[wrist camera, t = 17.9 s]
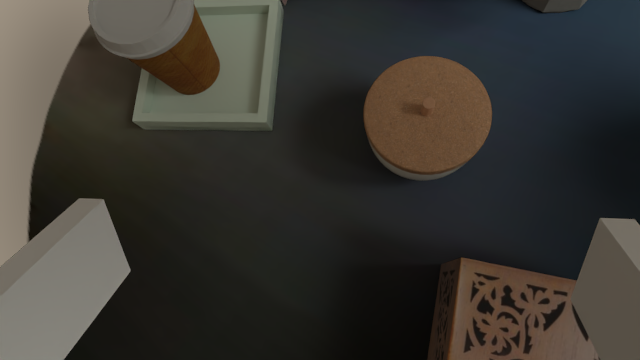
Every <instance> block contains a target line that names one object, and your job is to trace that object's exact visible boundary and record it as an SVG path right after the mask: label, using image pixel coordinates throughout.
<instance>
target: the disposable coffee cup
mask: <svg viewBox="0 0 640 360" xmlns="http://www.w3.org/2000/svg"><path fill="white" fill-rule="evenodd" d="M88 13H89V20H90V23H91V25H92V27H93V30H94V33H95V36H96V38H97V39H98V41H99V42H100V44H101V45H102V46H103V47H104V48H105V49H107V50H108V51H110V52H111V53H113V54H115V55H118V56H121V57H125V58H127V59H129V60H131V61H132V62H133V63H135V64H136V65H138V66H140V67H141V68H143V69H144V70H145V71H147V72H149V73H150V74H151V75H153V76H155V77H156V78H158V79H159V80H161V81H162V82H164V83H165V84H167V85H168V86H170V87H171V88H173V89H174V90H175V91H177V92H179V93H181V94H185V95H194V94H199V93H201V92H203V91H205V90H207V89H208V88H209V87H210V86H211V85H213V83H214V82H215V81H216V79H217V77H218V75H219V71H220V61H219V58H218V56H217V54H216V52H215V49H214V47H213V45H212V43H211V41H210V38H209V36H208V34H207V32H206V29H205V27H204V25H203V23H202V21H201V18H200V16H199V14H198V12H197V9H196V7H195V5H194V0H90V1H89V6H88Z"/></svg>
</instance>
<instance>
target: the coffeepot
mask: <svg viewBox="0 0 640 360" xmlns="http://www.w3.org/2000/svg"><path fill="white" fill-rule="evenodd" d="M522 1H523V2H524V3H526V4H527V5H528V6H530V7H532V8H534V9H537V10H540V11H541V12H546V13H560V12H566V11H570V10H577V9H579V8H580V7H581V6H582V5H583V4H584V3H585V2H586V1H587V0H522Z"/></svg>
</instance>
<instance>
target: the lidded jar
mask: <svg viewBox="0 0 640 360" xmlns="http://www.w3.org/2000/svg"><path fill="white" fill-rule="evenodd" d="M363 119H364V126H365V131H366V134H367V138H368V141H369V144H370V146H371V148H372V150H373V152H374V154H375V156H376V157H377V158H378V160H379V161H380V162H381V163H382V164H383V165H384V166H385V167H386V168H387V169H389V170H390V171H392V172H393V173H395V174H397V175H399V176H401V177H404V178H407V179H411V180H417V181H426V180H434V179H438V178H442V177H445V176H447V175H449V174H451V173H453V172H455V171H456V170H458V169H459V168H460V167H462V166H463V165H464V164H465V163H466V162H467V161H469V160H470V159H471V158H472V157H473V156H474V155H475V154H476V153H477V152H478V150H479V149H480V148H481V146H482V145H483V144H484V142H485V140H486V138H487V136H488V134H489V130H490V127H491V121H492V107H491V103H490V98H489V96H488V94H487V91H486V89H485V87H484V86H483V84H482V83H481V81H480V80H479V79H478V78H477V77H476V76H475V75H474V74H473V73H472V72H471V71H470V70H468V69H467V68H466V67H464V66H462V65H461V64H459V63H457V62H454V61H452V60H449V59H445V58H441V57H434V56H420V57H414V58H409V59H406V60H403V61H400V62H398V63H396V64H394V65H392V66H391V67H389V68H388V69H386V70H385V71H384V72H383V73H382V74H381V75H380V76H379V77H378V78H377V79H376V80H375V81H374V83H373V84H372V86H371V88H370V89H369V91H368V94H367V96H366V99H365V104H364V112H363Z"/></svg>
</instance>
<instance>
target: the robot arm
mask: <svg viewBox="0 0 640 360" xmlns="http://www.w3.org/2000/svg"><path fill="white" fill-rule="evenodd" d="M130 271H131V270H130V268H129V265H128V263H127V260H126V257H125V255H124V252H123V249H122V247H121V244H120V242H119V239H118V236H117V234H116V231H115V228H114V226H113V223H112V220H111V218H110V215H109V213H108V210H107V207H106V205H105V202H104V199H84V198H79V199H78V200H77V201H76V202H75V203H73V204H72V205H71V206H70V207H69V208H68V209H66V210H65V211H64V212H63V213H62V214H61V215H60V216H58V217H57V218H56V219H55V220H54V221H53V222H51V223H50V224H49V225H48V226H47V227H46V228H45V229H43V230H42V231H41V232H40V233H39V234H38V235H36V236H35V237H34V238H33V239H32V240H31V241H30V242H28V243H27V244H26V245H25V246H24V247H23V248H21V250H19V251H18V252H17V253H16V254H15V255H13V256H12V257H11V258H10V259H9V260H8V261H7V262H5V263H4V264H3V265H2V266H1V267H0V360H64V358H65V357H66V356H67V354H68V353H69V352H70V351H71V349H72V348H73V347H74V345H75V344H76V343H77V341H78V340H79V339H80V337H81V336H82V335H83V333H84V332H85V331H86V329H87V328H88V327H89V325H90V324H91V323H92V321H93V320H94V319H95V317H96V316H97V315H98V313H99V312H100V311H101V310H102V308H103V307H104V306H105V304H106V303H107V302H108V300H109V299H110V298H111V296H112V295H113V294H114V292H115V291H116V290H117V288H118V287H119V286H120V284H121V283H122V282H123V280H124V279H125V278H126V276H127V275H128V274H129V272H130ZM570 300H571V302H572V304H573V306H574V308H575V310H576V312H577V314H578V316H579V318H580V320H581V322H582V324H583V326H584V328H585V330H586V332H587V334H588V336H589V338H590V340H591V342H592V344H593V346H594V348H595V350H596V352H597V354H598V356H599V358H600V360H640V225H639V224H638V222H637V221H636V220H635V219H616V218H600V219H599V222H598V224H597V227H596V230H595V233H594V235H593V238H592V241H591V244H590V246H589V249H588V252H587V255H586V257H585V260H584V263H583V266H582V268H581V271H580V274H579V277H578V279H577V282H576V285H575V288H574V290H573V293H572V296H571V299H570Z"/></svg>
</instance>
